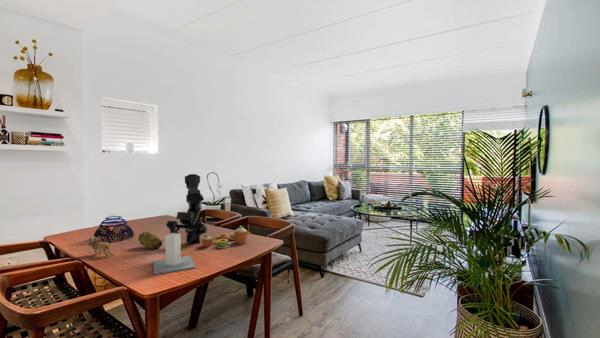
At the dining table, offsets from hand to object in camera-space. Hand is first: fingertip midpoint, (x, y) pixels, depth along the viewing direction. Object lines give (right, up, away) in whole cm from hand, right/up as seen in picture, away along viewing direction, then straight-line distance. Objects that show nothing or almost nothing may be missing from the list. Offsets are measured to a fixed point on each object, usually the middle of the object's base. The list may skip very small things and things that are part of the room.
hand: (179, 242), depth 138 cm
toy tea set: (+14, -8, +29) cm, 33 cm away
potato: (-24, -8, +20) cm, 32 cm away
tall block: (-1, -8, -5) cm, 9 cm away
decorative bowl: (-54, -7, +38) cm, 67 cm away
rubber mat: (-1, -9, -5) cm, 10 cm away
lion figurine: (-42, -8, +8) cm, 43 cm away
